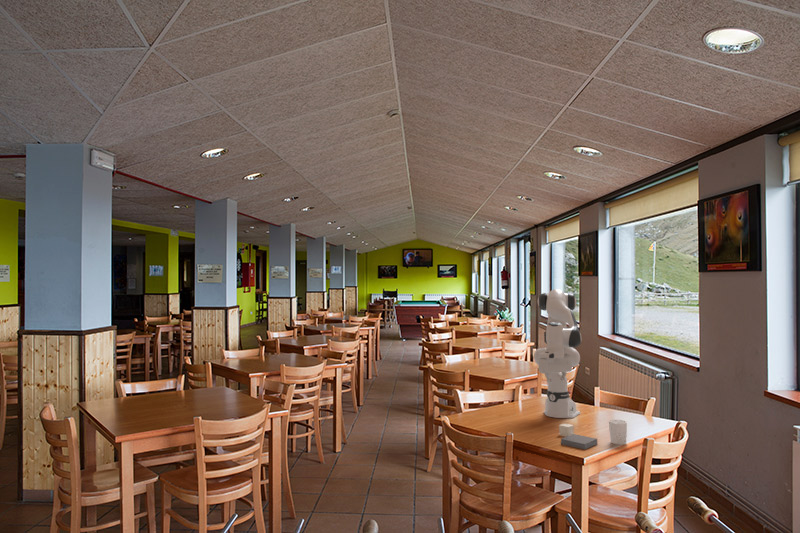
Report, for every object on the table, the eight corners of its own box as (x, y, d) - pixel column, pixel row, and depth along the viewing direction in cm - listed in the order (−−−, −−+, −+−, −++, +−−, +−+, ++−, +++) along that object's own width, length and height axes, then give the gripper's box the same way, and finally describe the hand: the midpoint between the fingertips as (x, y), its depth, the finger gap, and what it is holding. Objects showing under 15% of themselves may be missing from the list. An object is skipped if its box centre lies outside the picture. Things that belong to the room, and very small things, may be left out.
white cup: (622, 440, 248) (622, 419, 248) (630, 445, 240) (629, 423, 241) (606, 440, 248) (606, 419, 248) (614, 445, 240) (613, 423, 240)
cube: (564, 433, 261) (564, 423, 262) (573, 435, 258) (573, 425, 258) (559, 435, 258) (559, 425, 258) (568, 437, 254) (568, 427, 255)
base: (573, 439, 251) (573, 433, 251) (597, 444, 242) (597, 438, 242) (561, 444, 243) (560, 438, 243) (585, 449, 234) (584, 444, 234)
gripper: (565, 352, 272) (565, 379, 271) (536, 354, 262) (536, 381, 261) (574, 353, 266) (575, 380, 265) (545, 355, 257) (545, 383, 255)
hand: (555, 381), depth 263 cm, fingers open, 8 cm apart
